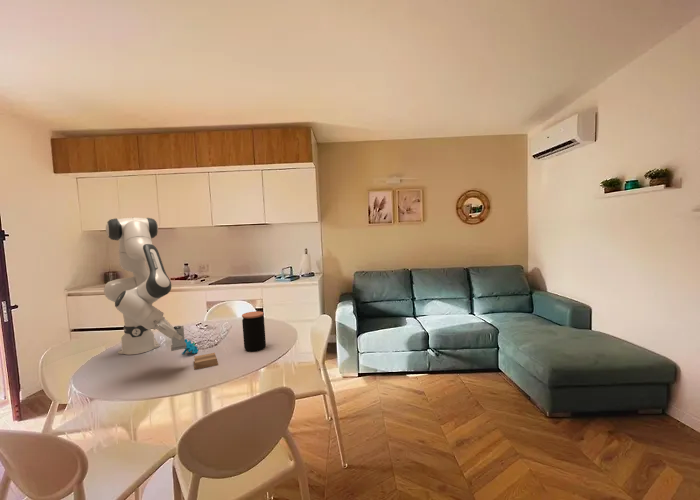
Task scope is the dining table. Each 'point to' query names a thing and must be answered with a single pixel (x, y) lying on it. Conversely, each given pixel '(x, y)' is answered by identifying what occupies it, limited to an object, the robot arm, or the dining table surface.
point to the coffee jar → (253, 331)
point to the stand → (205, 361)
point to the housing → (178, 343)
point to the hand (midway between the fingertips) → (179, 336)
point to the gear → (190, 347)
